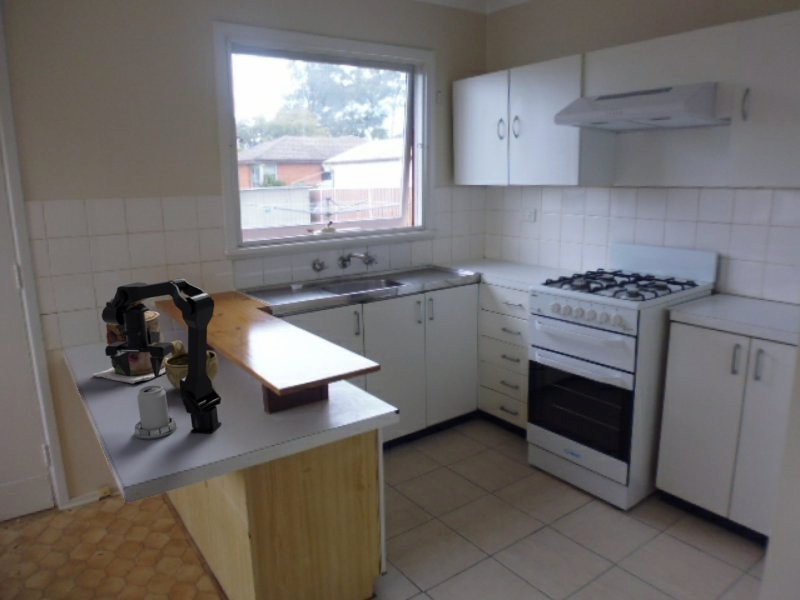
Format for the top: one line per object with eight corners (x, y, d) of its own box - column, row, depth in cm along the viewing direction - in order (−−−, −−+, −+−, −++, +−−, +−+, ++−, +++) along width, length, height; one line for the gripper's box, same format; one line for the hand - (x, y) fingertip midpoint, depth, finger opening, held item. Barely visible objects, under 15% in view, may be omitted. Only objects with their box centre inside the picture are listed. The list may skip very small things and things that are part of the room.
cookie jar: (144, 357, 241) (132, 279, 233) (190, 364, 230) (179, 282, 223) (89, 378, 219) (75, 292, 212) (137, 386, 208) (124, 296, 201)
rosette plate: (183, 423, 176) (182, 415, 176) (163, 440, 166) (161, 432, 165) (149, 422, 178) (148, 414, 178) (127, 439, 168) (125, 430, 167)
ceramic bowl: (155, 387, 206) (150, 346, 203) (201, 374, 218) (196, 334, 215) (186, 403, 191) (181, 359, 188) (234, 388, 203) (229, 345, 199)
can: (154, 421, 176) (149, 382, 174) (175, 423, 174) (170, 384, 171) (136, 432, 169) (130, 392, 167) (157, 435, 167) (152, 394, 164)
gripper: (179, 319, 182) (185, 368, 185) (123, 318, 185) (130, 366, 188) (158, 329, 171) (165, 381, 174) (100, 328, 174) (108, 379, 178)
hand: (142, 376), depth 179 cm, fingers open, 9 cm apart
